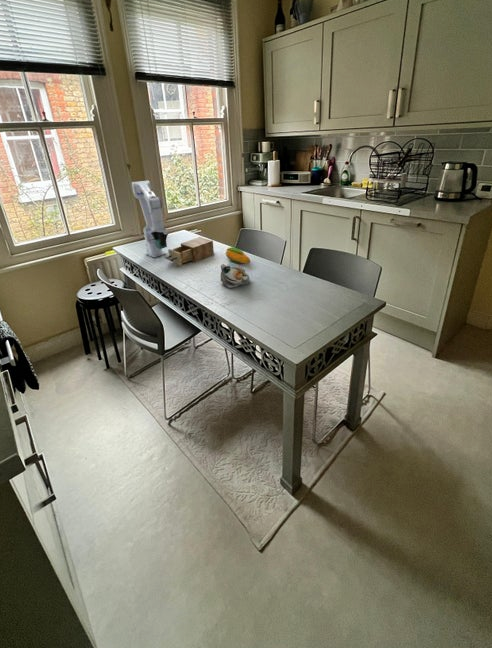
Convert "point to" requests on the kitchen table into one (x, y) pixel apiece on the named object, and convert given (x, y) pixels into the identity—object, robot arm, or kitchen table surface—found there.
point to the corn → (237, 255)
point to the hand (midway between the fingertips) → (161, 244)
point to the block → (159, 244)
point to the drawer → (180, 255)
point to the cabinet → (200, 248)
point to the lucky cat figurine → (233, 275)
